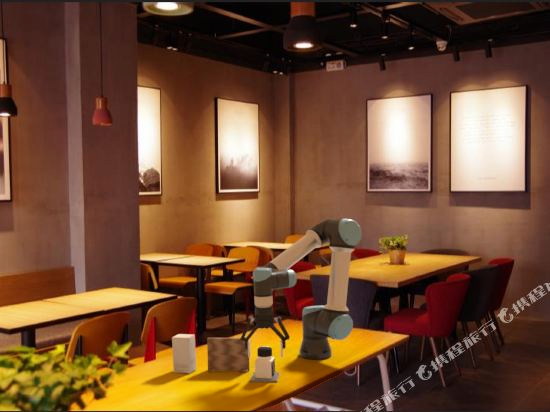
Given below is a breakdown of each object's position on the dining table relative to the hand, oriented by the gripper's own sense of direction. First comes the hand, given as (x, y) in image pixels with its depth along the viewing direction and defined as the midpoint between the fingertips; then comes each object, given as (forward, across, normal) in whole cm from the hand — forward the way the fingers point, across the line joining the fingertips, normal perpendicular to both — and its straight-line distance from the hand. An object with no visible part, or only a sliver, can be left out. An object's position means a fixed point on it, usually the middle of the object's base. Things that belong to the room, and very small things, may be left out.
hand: (265, 356), depth 247 cm
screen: (+9, +18, -10) cm, 22 cm away
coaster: (+9, +1, 0) cm, 9 cm away
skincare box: (+8, +37, -8) cm, 38 cm away
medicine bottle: (+8, 0, 0) cm, 8 cm away
